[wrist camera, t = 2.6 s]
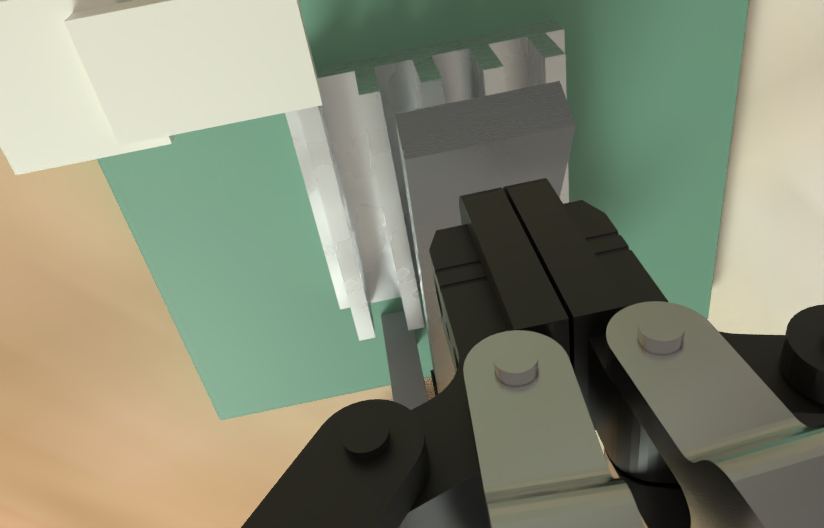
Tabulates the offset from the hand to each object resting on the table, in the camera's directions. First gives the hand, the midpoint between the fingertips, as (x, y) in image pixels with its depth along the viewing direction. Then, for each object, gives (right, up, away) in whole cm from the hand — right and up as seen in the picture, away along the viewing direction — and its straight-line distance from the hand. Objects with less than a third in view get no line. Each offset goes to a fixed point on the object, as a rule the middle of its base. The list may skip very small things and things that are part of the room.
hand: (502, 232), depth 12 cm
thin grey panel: (0, -1, +7) cm, 8 cm away
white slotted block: (-1, +3, +13) cm, 13 cm away
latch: (-9, +7, +8) cm, 14 cm away
